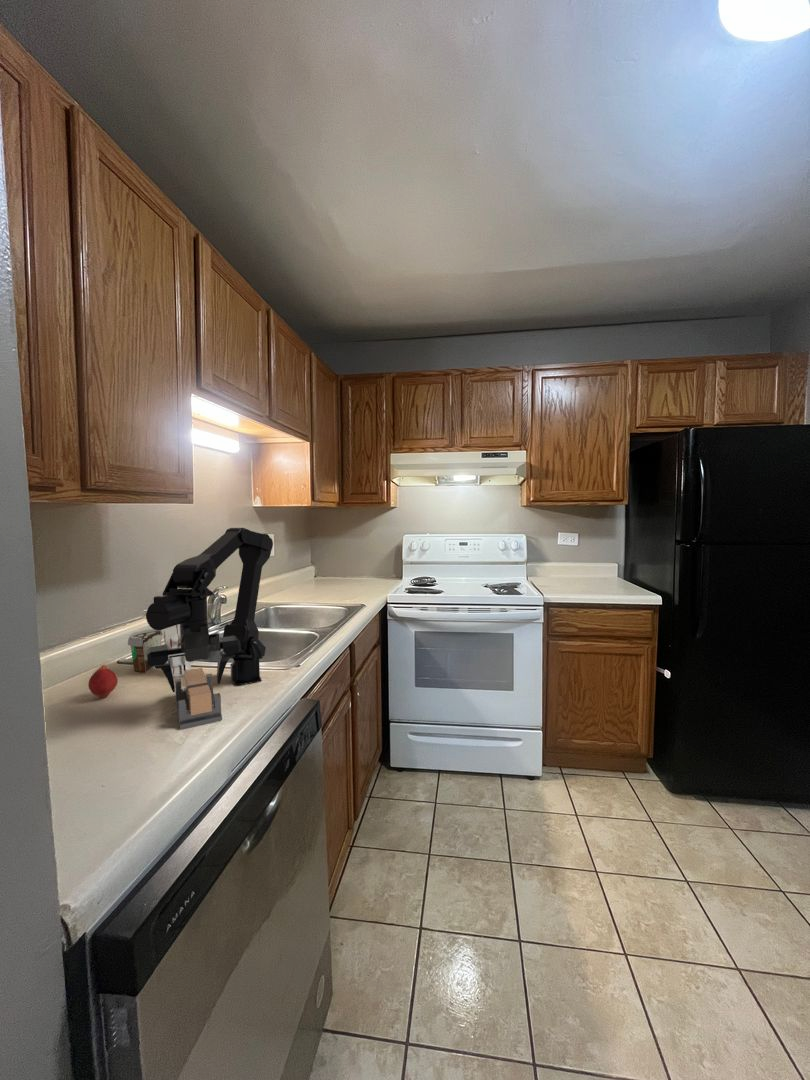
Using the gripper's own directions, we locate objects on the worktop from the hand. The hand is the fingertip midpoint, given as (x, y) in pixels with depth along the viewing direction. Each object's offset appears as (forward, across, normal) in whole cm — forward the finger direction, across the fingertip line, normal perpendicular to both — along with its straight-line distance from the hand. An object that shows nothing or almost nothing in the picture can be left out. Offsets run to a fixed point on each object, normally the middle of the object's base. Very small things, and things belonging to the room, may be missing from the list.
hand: (196, 687), depth 103 cm
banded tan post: (+2, 0, 0) cm, 2 cm away
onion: (+5, -19, +19) cm, 27 cm away
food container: (+5, -11, +39) cm, 41 cm away
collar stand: (+5, 0, 0) cm, 5 cm away
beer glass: (+5, -2, +28) cm, 29 cm away
